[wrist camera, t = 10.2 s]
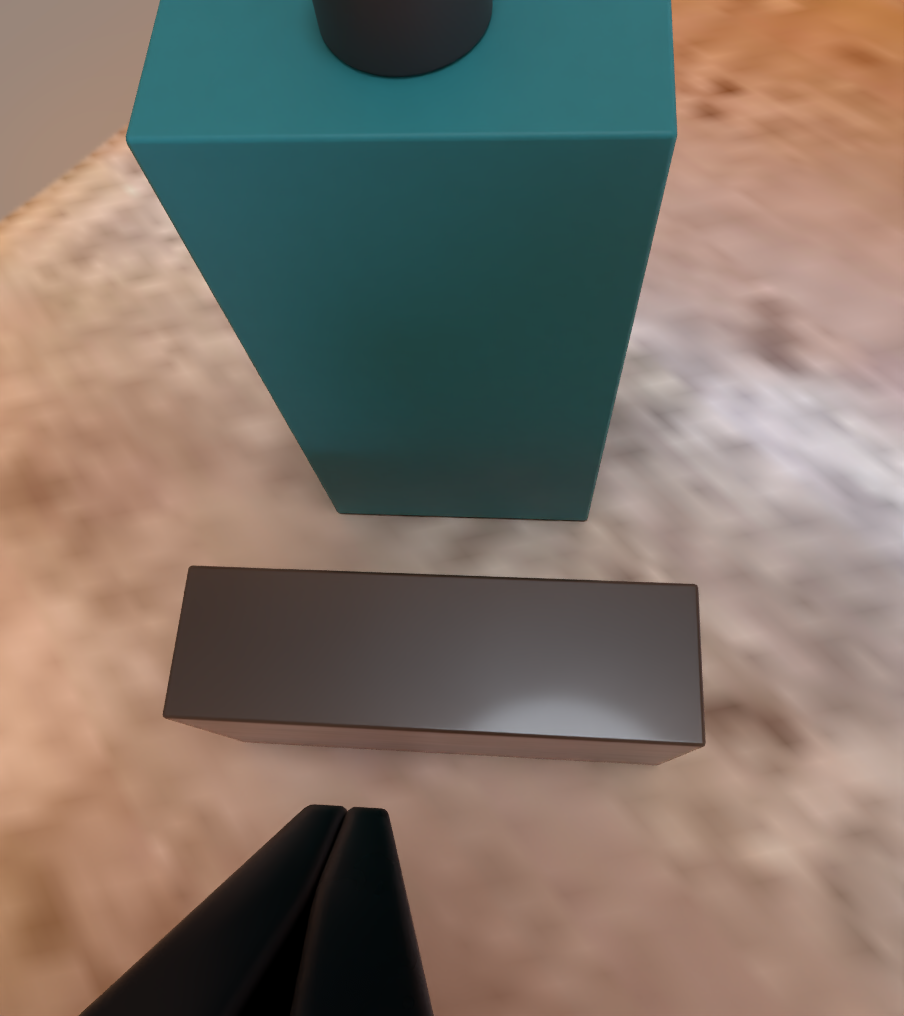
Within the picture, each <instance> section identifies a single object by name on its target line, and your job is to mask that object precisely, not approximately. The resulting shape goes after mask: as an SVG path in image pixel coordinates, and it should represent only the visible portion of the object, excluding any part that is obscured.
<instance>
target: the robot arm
mask: <svg viewBox="0 0 904 1016" xmlns="http://www.w3.org/2000/svg"><path fill="white" fill-rule="evenodd" d="M79 1016H434V1015H433V1011H432V1006H431V1002H430V997H429V993H428V988H427V984H426V979H425V975H424V970H423V966H422V961H421V957H420V952H419V948H418V943H417V939H416V934H415V930H414V926H413V921H412V917H411V912H410V908H409V903H408V899H407V894H406V890H405V885H404V881H403V876H402V872H401V867H400V863H399V858H398V854H397V849H396V845H395V840H394V836H393V831H392V827H391V823H390V818H389V814H388V812H387V811H386V810H385V809H381V808H364V807H353V808H351V809H350V810H348V811H347V810H346V809H345V808H344V807H342V806H331V805H309V806H307V807H306V808H304V809H303V810H302V811H301V812H300V813H299V814H298V815H296V816H295V817H294V818H293V819H292V820H291V821H290V822H289V823H288V824H287V825H286V826H284V827H283V828H282V829H281V830H280V831H279V832H278V833H277V834H276V835H275V836H274V837H272V838H271V839H270V840H269V841H268V842H267V843H266V844H265V845H264V846H263V847H262V848H261V849H259V850H258V851H257V852H256V853H255V854H254V855H253V856H252V857H251V858H250V859H249V860H247V861H246V862H245V863H244V864H243V865H242V866H241V867H240V868H239V869H238V870H237V871H235V872H234V873H233V874H232V875H231V876H230V877H229V878H228V879H227V880H226V881H225V882H224V883H222V884H221V885H220V886H219V887H218V888H217V889H216V890H215V891H214V892H213V893H212V894H210V895H209V896H208V897H207V898H206V899H205V900H204V901H203V902H202V903H201V904H200V905H198V906H197V907H196V908H195V909H194V910H193V911H192V912H191V913H190V914H189V915H188V916H186V917H185V918H184V919H183V920H182V921H181V922H180V923H179V924H178V925H177V926H176V927H175V928H173V929H172V930H171V931H170V932H169V933H168V934H167V935H166V936H165V937H164V938H163V939H161V940H160V941H159V942H158V943H157V944H156V945H155V946H154V947H153V948H152V949H151V950H149V951H148V952H147V953H146V954H145V955H144V956H143V957H142V958H141V959H140V960H139V961H137V962H136V963H135V964H134V965H133V966H132V967H131V968H130V969H129V970H128V971H127V972H126V973H124V974H123V975H122V976H121V977H120V978H119V979H118V980H117V981H116V982H115V983H114V984H112V985H111V986H110V987H109V988H108V989H107V990H106V991H105V992H104V993H103V994H102V995H100V996H99V997H98V998H97V999H96V1000H95V1001H94V1002H93V1003H92V1004H91V1005H90V1006H89V1007H87V1008H86V1009H85V1010H84V1011H83V1012H82V1013H81V1014H80V1015H79Z"/></svg>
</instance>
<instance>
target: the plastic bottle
mask: <svg viewBox="0 0 904 1016" xmlns="http://www.w3.org/2000/svg"><path fill="white" fill-rule="evenodd" d="M676 138H677V118H676V97H675V75H674V54H673V32H672V11H671V0H160V3H159V7H158V11H157V15H156V19H155V23H154V27H153V31H152V35H151V39H150V43H149V47H148V51H147V55H146V59H145V63H144V67H143V71H142V75H141V79H140V83H139V87H138V91H137V95H136V98H135V103H134V106H133V111H132V114H131V118H130V122H129V126H128V130H127V134H126V142H127V144H128V146H129V148H130V150H131V151H132V153H133V155H134V157H135V158H136V160H137V162H138V164H139V165H140V167H141V169H142V171H143V172H144V174H145V176H146V178H147V179H148V181H149V183H150V185H151V186H152V188H153V190H154V192H155V193H156V195H157V197H158V199H159V200H160V202H161V204H162V206H163V207H164V209H165V211H166V213H167V214H168V216H169V218H170V220H171V221H172V223H173V225H174V227H175V228H176V230H177V232H178V234H179V235H180V237H181V239H182V241H183V242H184V244H185V246H186V248H187V249H188V251H189V253H190V255H191V256H192V258H193V260H194V262H195V263H196V265H197V267H198V269H199V270H200V272H201V274H202V276H203V277H204V279H205V281H206V283H207V284H208V286H209V288H210V290H211V291H212V293H213V295H214V297H215V298H216V300H217V302H218V304H219V305H220V307H221V309H222V311H223V312H224V314H225V316H226V318H227V319H228V321H229V323H230V325H231V326H232V328H233V330H234V332H235V333H236V335H237V337H238V339H239V340H240V342H241V344H242V346H243V347H244V349H245V351H246V353H247V354H248V356H249V358H250V360H251V361H252V363H253V365H254V367H255V368H256V370H257V372H258V374H259V375H260V377H261V379H262V381H263V382H264V384H265V386H266V387H267V389H268V391H269V393H270V394H271V396H272V398H273V400H274V401H275V403H276V405H277V407H278V408H279V410H280V412H281V414H282V415H283V417H284V419H285V421H286V422H287V424H288V426H289V428H290V429H291V431H292V433H293V435H294V436H295V438H296V440H297V442H298V443H299V445H300V447H301V449H302V450H303V452H304V454H305V456H306V457H307V459H308V461H309V463H310V464H311V466H312V468H313V470H314V471H315V473H316V475H317V477H318V478H319V480H320V482H321V484H322V485H323V487H324V489H325V491H326V492H327V494H328V496H329V498H330V499H331V501H332V503H333V505H334V506H335V508H336V510H337V512H339V513H356V514H389V515H421V516H454V517H487V518H520V519H552V520H587V518H588V514H589V510H590V505H591V501H592V497H593V492H594V488H595V484H596V480H597V475H598V471H599V467H600V463H601V458H602V454H603V450H604V446H605V441H606V437H607V433H608V428H609V424H610V420H611V416H612V411H613V407H614V403H615V399H616V394H617V390H618V386H619V381H620V377H621V373H622V369H623V364H624V360H625V356H626V352H627V347H628V343H629V339H630V334H631V330H632V326H633V322H634V317H635V313H636V309H637V305H638V300H639V296H640V292H641V288H642V283H643V279H644V275H645V270H646V266H647V262H648V258H649V253H650V249H651V245H652V241H653V236H654V232H655V228H656V223H657V219H658V215H659V211H660V206H661V202H662V198H663V194H664V189H665V185H666V181H667V176H668V172H669V168H670V164H671V159H672V155H673V151H674V147H675V142H676Z"/></svg>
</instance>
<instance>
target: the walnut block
mask: <svg viewBox="0 0 904 1016" xmlns="http://www.w3.org/2000/svg"><path fill="white" fill-rule="evenodd" d="M163 717H164V718H166V719H169V720H172V721H176V722H179V723H182V724H186V725H189V726H193V727H196V728H199V729H203V730H206V731H209V732H213V733H216V734H219V735H223V736H226V737H229V738H233V739H236V740H239V741H243V742H253V743H271V744H289V745H307V746H325V747H342V748H360V749H378V750H396V751H414V752H432V753H450V754H468V755H486V756H504V757H522V758H540V759H558V760H576V761H594V762H612V763H630V764H648V765H659V764H662V763H664V762H667V761H669V760H672V759H674V758H676V757H679V756H681V755H684V754H686V753H689V752H691V751H694V750H696V749H699V748H701V747H703V746H705V721H704V700H703V679H702V657H701V636H700V614H699V593H698V586H697V585H695V584H681V583H654V582H627V581H599V580H572V579H545V578H518V577H490V576H463V575H436V574H408V573H381V572H354V571H327V570H299V569H272V568H245V567H217V566H190V567H189V569H188V574H187V580H186V586H185V591H184V597H183V603H182V608H181V614H180V620H179V625H178V631H177V637H176V642H175V648H174V654H173V659H172V665H171V671H170V676H169V682H168V688H167V693H166V699H165V705H164V710H163Z"/></svg>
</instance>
